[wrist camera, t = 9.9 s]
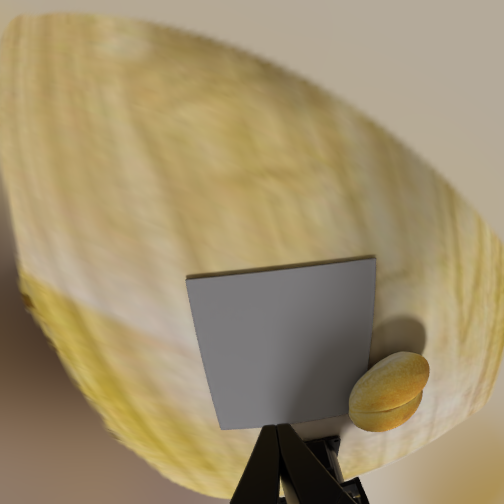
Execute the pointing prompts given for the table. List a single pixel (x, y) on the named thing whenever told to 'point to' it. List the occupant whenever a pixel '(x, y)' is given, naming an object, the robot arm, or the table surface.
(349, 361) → the serving mat
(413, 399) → the bread roll
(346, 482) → the robot arm
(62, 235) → the table surface
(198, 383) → the table surface
